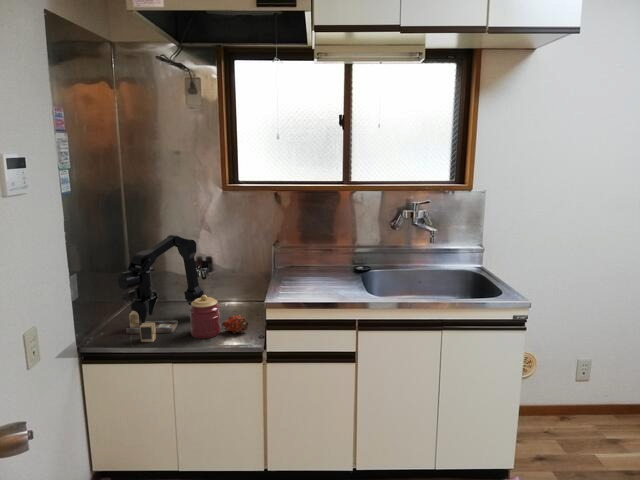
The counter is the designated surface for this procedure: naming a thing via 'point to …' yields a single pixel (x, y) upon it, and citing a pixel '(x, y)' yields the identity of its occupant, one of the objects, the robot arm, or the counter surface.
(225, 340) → the counter surface
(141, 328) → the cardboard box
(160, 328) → the slider rail with block
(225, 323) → the dragon fruit
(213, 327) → the canister
